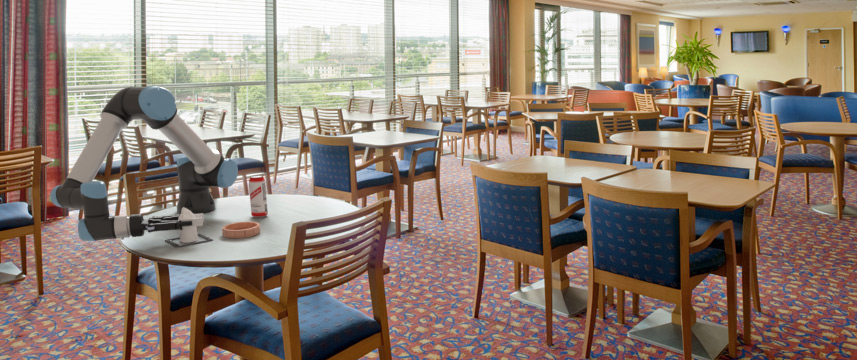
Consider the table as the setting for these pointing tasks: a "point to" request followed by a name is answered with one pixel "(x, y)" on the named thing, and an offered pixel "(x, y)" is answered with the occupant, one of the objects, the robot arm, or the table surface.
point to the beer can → (258, 196)
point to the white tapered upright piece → (187, 232)
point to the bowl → (241, 230)
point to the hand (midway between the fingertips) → (202, 219)
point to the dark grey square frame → (189, 243)
